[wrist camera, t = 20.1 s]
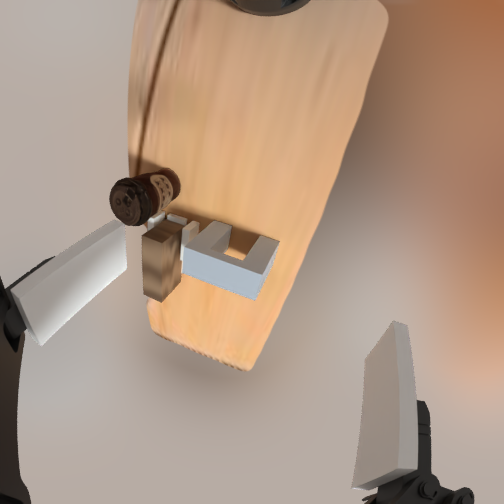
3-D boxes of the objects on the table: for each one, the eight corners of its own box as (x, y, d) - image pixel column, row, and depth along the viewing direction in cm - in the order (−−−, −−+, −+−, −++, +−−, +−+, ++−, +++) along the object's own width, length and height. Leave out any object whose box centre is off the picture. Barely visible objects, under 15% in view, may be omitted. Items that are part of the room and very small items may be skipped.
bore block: (214, 220, 51) (183, 246, 42) (279, 241, 49) (262, 275, 40) (210, 243, 54) (182, 272, 45) (273, 264, 52) (255, 300, 43)
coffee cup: (182, 159, 48) (137, 176, 37) (191, 202, 51) (151, 229, 40) (146, 166, 51) (100, 185, 40) (156, 205, 54) (113, 231, 43)
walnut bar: (165, 219, 54) (141, 235, 47) (184, 225, 53) (162, 243, 46) (163, 274, 61) (143, 294, 54) (180, 281, 60) (161, 302, 53)
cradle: (159, 209, 54) (147, 216, 51) (199, 222, 53) (189, 230, 49) (157, 261, 61) (147, 270, 58) (193, 276, 59) (185, 286, 56)
